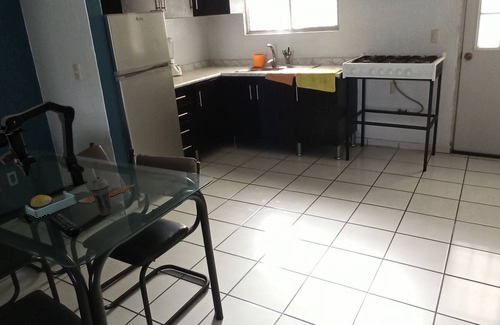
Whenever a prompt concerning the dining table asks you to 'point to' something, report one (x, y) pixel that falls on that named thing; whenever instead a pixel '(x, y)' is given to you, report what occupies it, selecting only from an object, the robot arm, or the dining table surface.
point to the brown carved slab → (111, 193)
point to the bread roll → (40, 200)
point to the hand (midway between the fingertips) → (27, 176)
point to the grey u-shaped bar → (53, 206)
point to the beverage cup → (101, 194)
